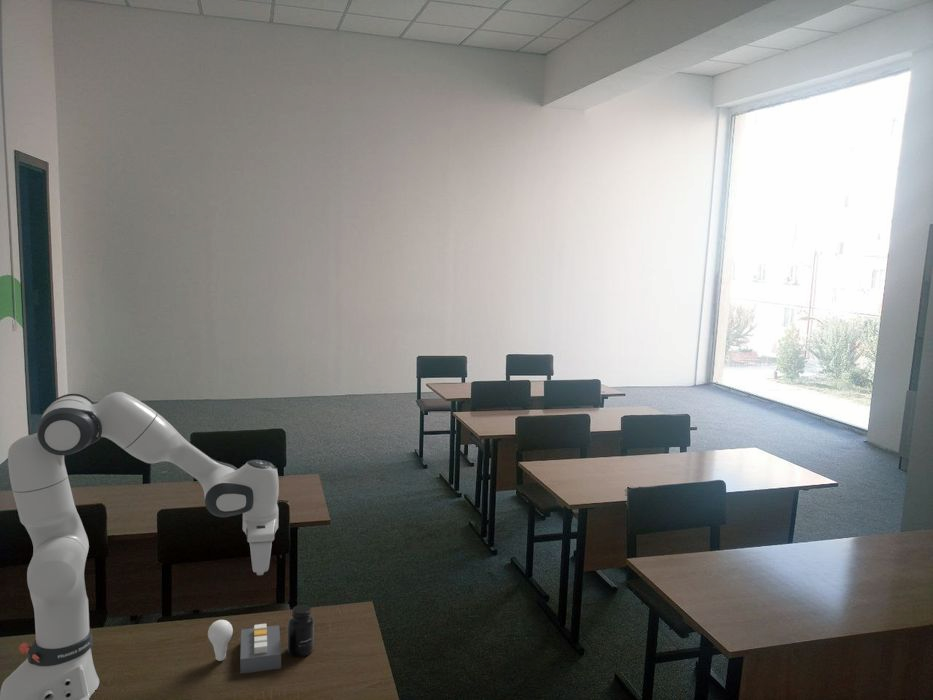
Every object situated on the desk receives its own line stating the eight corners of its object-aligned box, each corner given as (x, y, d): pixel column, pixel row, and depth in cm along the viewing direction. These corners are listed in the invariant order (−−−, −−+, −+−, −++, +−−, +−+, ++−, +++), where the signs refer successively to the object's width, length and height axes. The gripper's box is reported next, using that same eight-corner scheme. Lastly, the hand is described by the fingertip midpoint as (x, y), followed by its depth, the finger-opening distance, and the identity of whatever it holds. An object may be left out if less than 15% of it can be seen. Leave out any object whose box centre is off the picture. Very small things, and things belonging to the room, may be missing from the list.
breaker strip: (281, 668, 180) (281, 647, 180) (240, 673, 178) (240, 652, 177) (278, 624, 201) (278, 605, 200) (241, 628, 198) (241, 609, 197)
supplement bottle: (306, 660, 184) (306, 617, 183) (282, 655, 186) (283, 613, 184) (318, 645, 191) (318, 605, 189) (295, 641, 193) (295, 600, 191)
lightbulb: (225, 669, 179) (224, 629, 177) (203, 665, 180) (202, 625, 179) (237, 655, 185) (237, 617, 183) (216, 651, 186) (216, 613, 185)
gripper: (248, 507, 189) (247, 556, 191) (247, 539, 169) (247, 592, 172) (272, 506, 191) (271, 554, 193) (274, 537, 171) (273, 590, 173)
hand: (260, 572), depth 182 cm, fingers closed
